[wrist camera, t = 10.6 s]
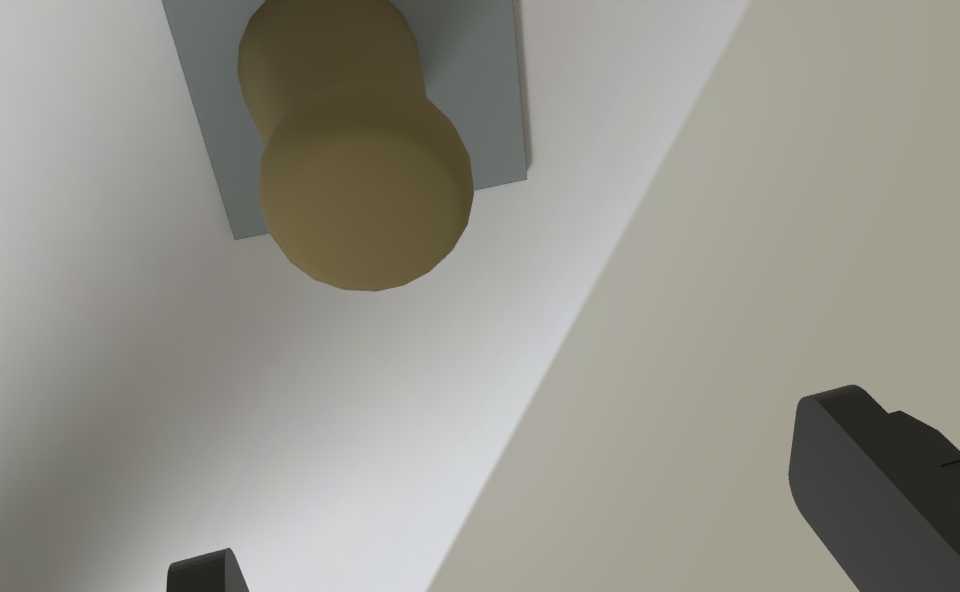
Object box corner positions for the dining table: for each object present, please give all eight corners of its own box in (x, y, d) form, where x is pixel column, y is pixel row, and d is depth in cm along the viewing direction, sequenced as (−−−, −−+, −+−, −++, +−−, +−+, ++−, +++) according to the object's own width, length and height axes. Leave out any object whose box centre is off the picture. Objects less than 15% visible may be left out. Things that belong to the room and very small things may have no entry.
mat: (524, 175, 33) (527, 179, 33) (234, 234, 31) (234, 239, 31) (497, -144, 27) (500, -143, 26) (136, -90, 25) (134, -87, 25)
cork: (388, -51, 27) (467, 52, 18) (441, 121, 31) (531, 279, 22) (204, 12, 27) (192, 149, 18) (280, 179, 30) (302, 363, 21)
